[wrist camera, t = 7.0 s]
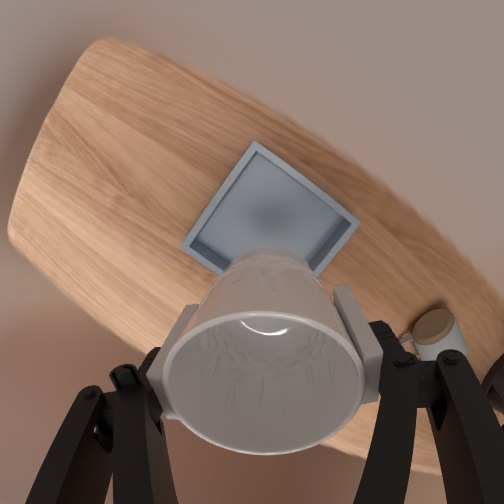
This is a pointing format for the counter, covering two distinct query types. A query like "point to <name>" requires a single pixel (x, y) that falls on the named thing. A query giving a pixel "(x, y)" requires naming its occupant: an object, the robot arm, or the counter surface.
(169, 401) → the white cup
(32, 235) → the counter surface
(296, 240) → the bin
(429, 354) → the ceramic mug
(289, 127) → the counter surface
